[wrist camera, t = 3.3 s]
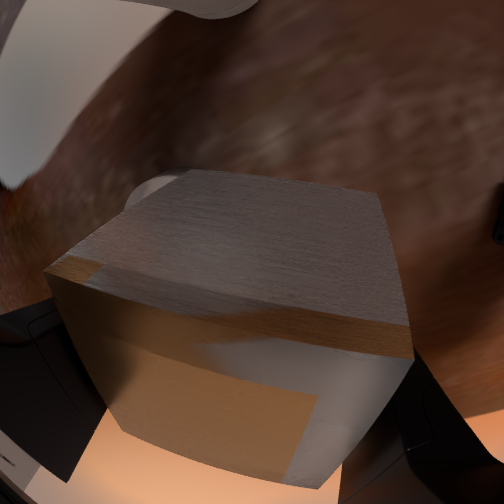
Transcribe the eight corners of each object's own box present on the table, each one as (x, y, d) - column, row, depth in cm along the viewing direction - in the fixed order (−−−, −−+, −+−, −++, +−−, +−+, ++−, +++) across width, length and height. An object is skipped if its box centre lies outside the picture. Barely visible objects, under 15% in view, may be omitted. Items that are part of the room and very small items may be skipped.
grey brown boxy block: (377, 194, 8) (414, 359, 3) (339, 336, 11) (317, 489, 6) (191, 169, 9) (43, 271, 4) (199, 307, 12) (122, 430, 7)
